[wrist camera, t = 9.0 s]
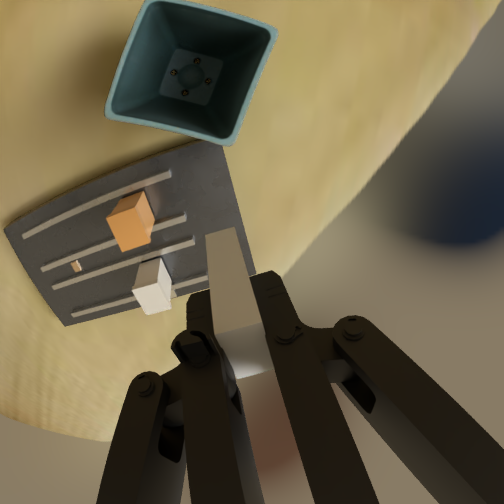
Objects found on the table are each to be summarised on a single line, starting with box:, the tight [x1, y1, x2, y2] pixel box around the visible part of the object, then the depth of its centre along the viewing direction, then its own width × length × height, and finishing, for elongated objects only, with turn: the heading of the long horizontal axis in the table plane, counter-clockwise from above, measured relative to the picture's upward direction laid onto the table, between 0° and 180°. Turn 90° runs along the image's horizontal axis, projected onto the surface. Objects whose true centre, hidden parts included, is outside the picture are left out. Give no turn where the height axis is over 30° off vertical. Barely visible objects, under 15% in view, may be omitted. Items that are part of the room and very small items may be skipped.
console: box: [3, 139, 256, 326], centre depth 26 cm, size 26×15×3 cm, turn 103°
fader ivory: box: [132, 257, 172, 315], centre depth 26 cm, size 3×3×4 cm
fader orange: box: [106, 191, 155, 252], centre depth 22 cm, size 3×3×4 cm
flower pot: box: [104, 0, 278, 146], centre depth 17 cm, size 9×9×9 cm
